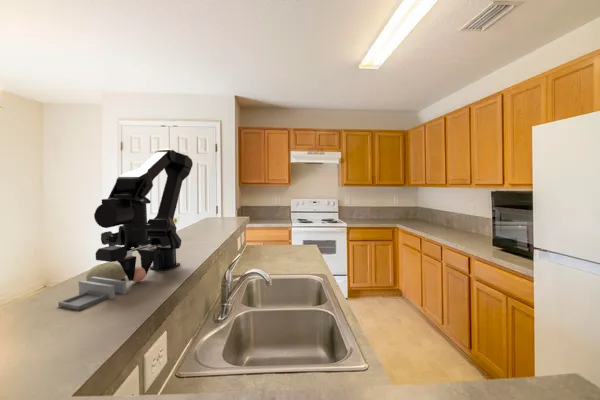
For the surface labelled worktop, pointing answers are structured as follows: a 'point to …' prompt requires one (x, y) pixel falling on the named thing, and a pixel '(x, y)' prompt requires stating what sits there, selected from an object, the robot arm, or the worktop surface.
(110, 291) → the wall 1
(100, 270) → the sea urchin shell
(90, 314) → the worktop surface
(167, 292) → the worktop surface
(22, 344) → the worktop surface
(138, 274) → the ball
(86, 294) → the coaster
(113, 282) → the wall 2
